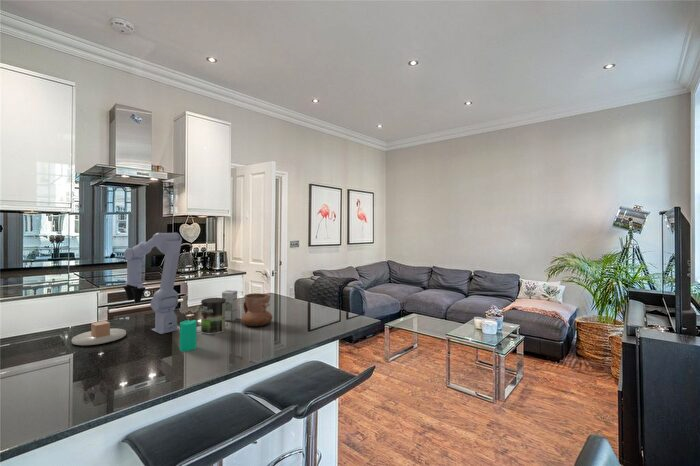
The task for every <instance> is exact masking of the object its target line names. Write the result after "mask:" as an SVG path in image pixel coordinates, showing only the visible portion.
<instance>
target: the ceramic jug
mask: <svg viewBox="0 0 700 466" xmlns="http://www.w3.org/2000/svg"><path fill="white" fill-rule="evenodd" d="M243 298H244V302H243V305H242V307H243V310H244V311H243V312H244V314H242V316H241V322H242V323H243V325H244V326H249V327H262V326H263V327H264V326H265V325H267V324H269V323H270V322H272V321H273V314H272V313H271V312H269V311H267V308H268V307H270V306H271V304H270V303H269V302H270V300H271V294H268V293H257V292H256V293H247V294H245V295H244V297H243Z"/></svg>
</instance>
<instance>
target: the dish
mask: <svg viewBox="0 0 700 466" xmlns="http://www.w3.org/2000/svg"><path fill="white" fill-rule="evenodd" d="M125 336H127V330H125V329H123V328H110V335H107V336H102V337H98V338H95V337H93V336H91V330H89V331H85V332H82V333H79V334H77V335H75V336H73V337H72V338H71V343H72V345H76V346H92V345H93V346H95V345H100V344H106V343H110V342H115V341H118V340H119V339H122V338H124V337H125Z"/></svg>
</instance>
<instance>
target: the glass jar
mask: <svg viewBox="0 0 700 466" xmlns="http://www.w3.org/2000/svg"><path fill="white" fill-rule="evenodd" d="M225 301H226V299H224V298H222V297H207V298H203V299H201V301H200V304H201V306H200V307H201V311H200V312H201V313H200V314H201V315H200V316H201V319H200V321H201V322H200V323H201V325H200V333H201V334H202V333H204V334H203V335H217V333H218V334H221V332H222V333H224V332H225V331H226V321H225Z"/></svg>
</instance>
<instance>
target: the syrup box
mask: <svg viewBox="0 0 700 466" xmlns="http://www.w3.org/2000/svg"><path fill="white" fill-rule="evenodd" d="M221 298H224V299H226V301H225V322H234V321H236V319H237V318H238V290H231V289H230V290H227V289H226V290H224V291H222V292H221Z"/></svg>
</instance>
